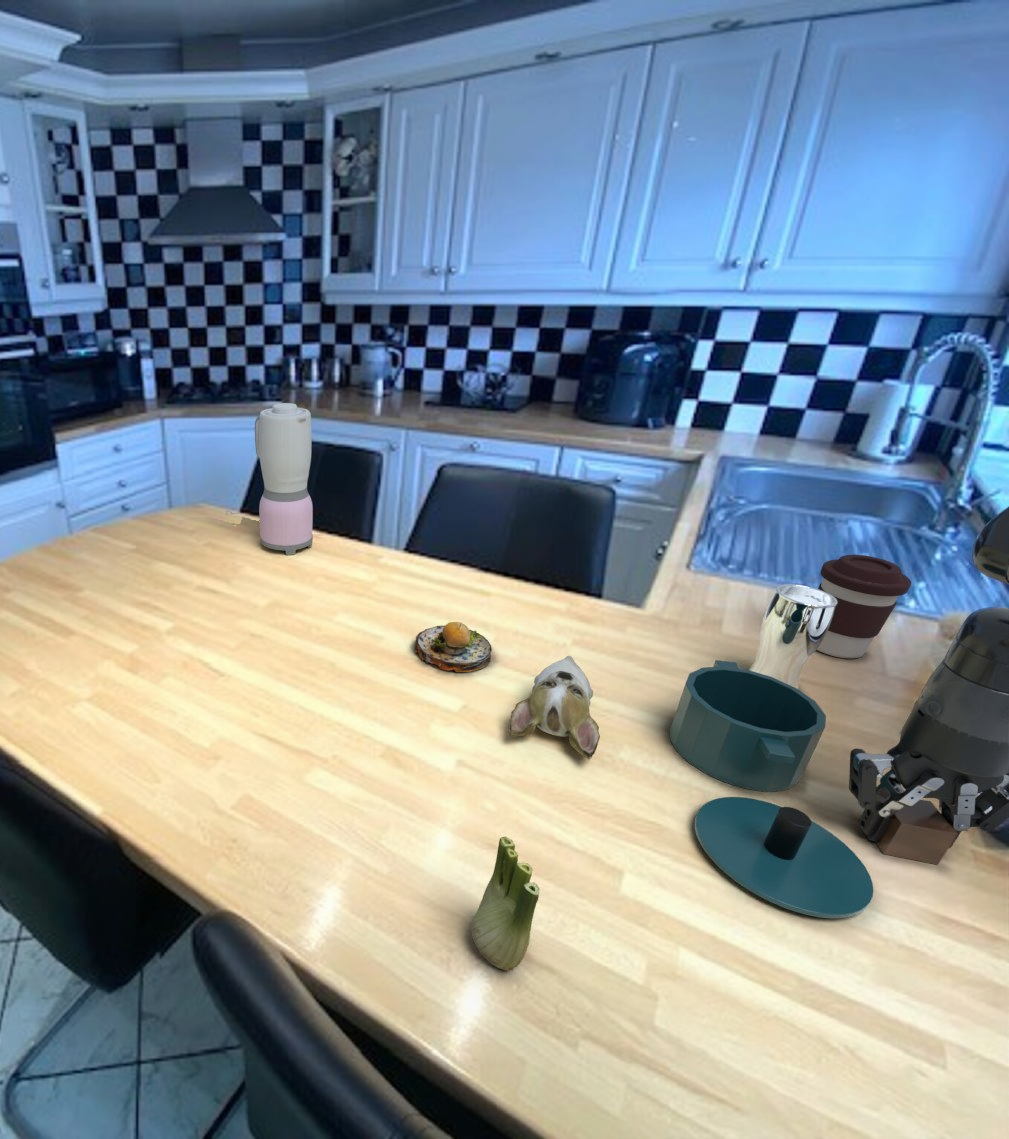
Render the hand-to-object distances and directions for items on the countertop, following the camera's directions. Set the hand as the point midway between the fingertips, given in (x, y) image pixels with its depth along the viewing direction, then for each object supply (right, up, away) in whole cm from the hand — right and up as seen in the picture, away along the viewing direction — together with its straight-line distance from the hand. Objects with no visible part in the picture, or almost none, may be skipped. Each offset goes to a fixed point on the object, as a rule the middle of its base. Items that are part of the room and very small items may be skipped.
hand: (899, 840), depth 67 cm
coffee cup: (+24, +16, +33) cm, 44 cm away
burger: (-36, +15, +36) cm, 53 cm away
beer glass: (+7, +12, +25) cm, 29 cm away
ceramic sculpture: (-28, +7, +19) cm, 34 cm away
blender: (-62, +35, +79) cm, 107 cm away
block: (0, 0, 0) cm, 0 cm away
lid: (-14, -1, -1) cm, 14 cm away
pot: (-8, +6, +13) cm, 16 cm away
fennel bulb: (-47, -6, -9) cm, 48 cm away
